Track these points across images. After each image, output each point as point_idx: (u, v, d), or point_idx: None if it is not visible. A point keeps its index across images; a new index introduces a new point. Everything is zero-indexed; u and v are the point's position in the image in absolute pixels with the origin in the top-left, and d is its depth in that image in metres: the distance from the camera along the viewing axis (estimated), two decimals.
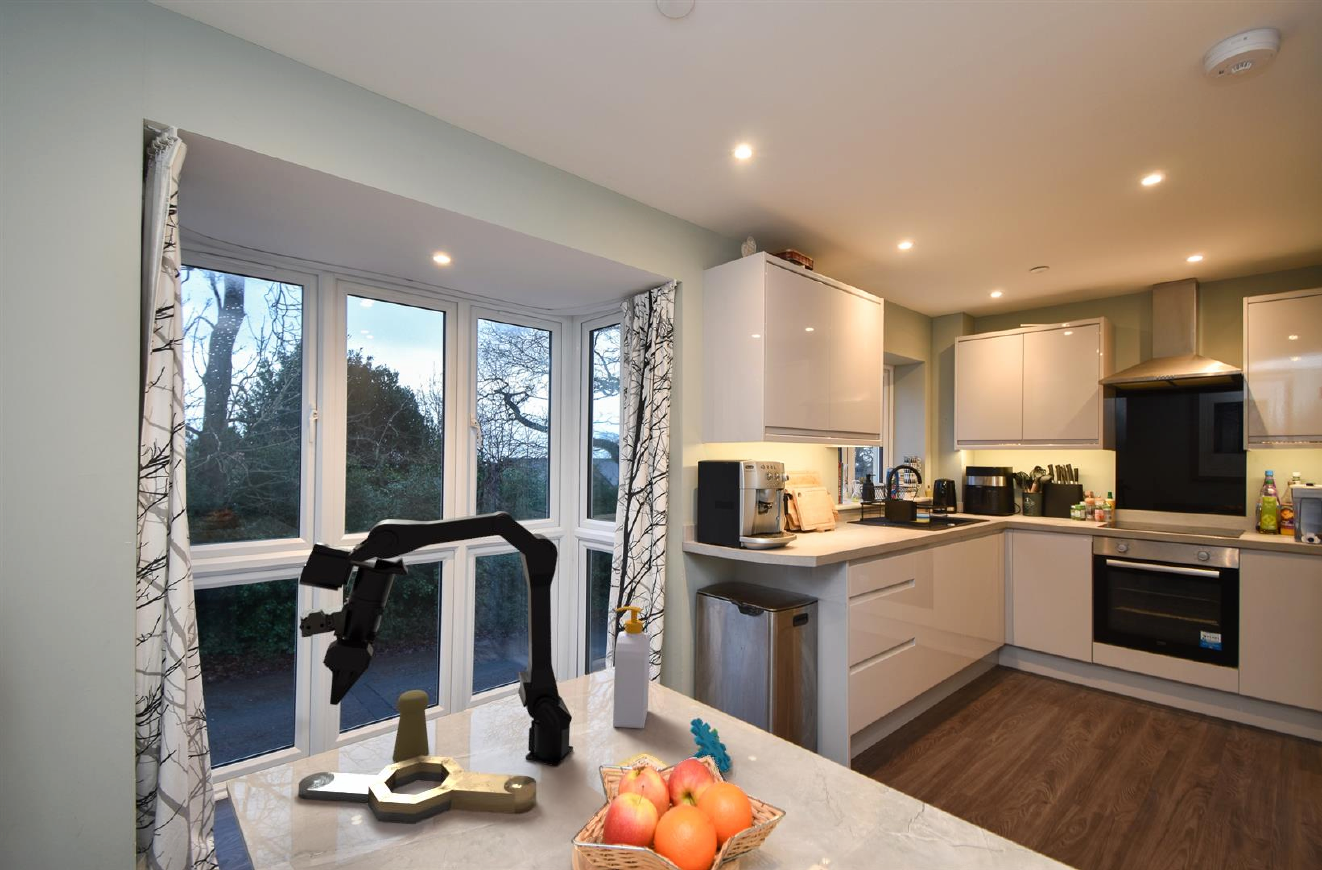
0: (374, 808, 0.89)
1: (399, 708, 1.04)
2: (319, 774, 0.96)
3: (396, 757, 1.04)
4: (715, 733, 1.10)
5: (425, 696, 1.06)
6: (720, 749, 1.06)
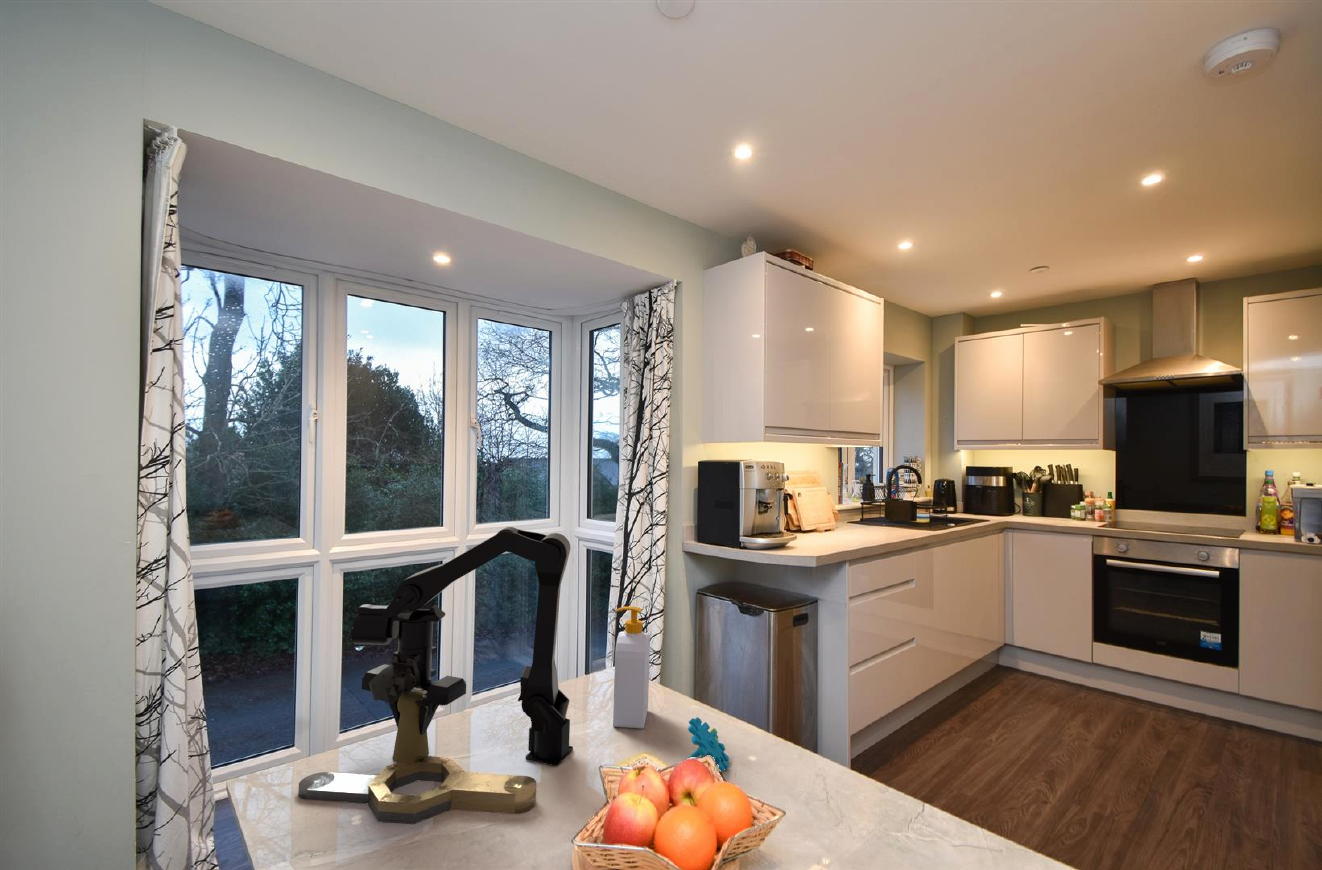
0: (374, 808, 0.89)
1: (399, 708, 1.04)
2: (319, 774, 0.96)
3: (396, 757, 1.04)
4: (714, 733, 1.10)
5: None
6: (718, 749, 1.06)
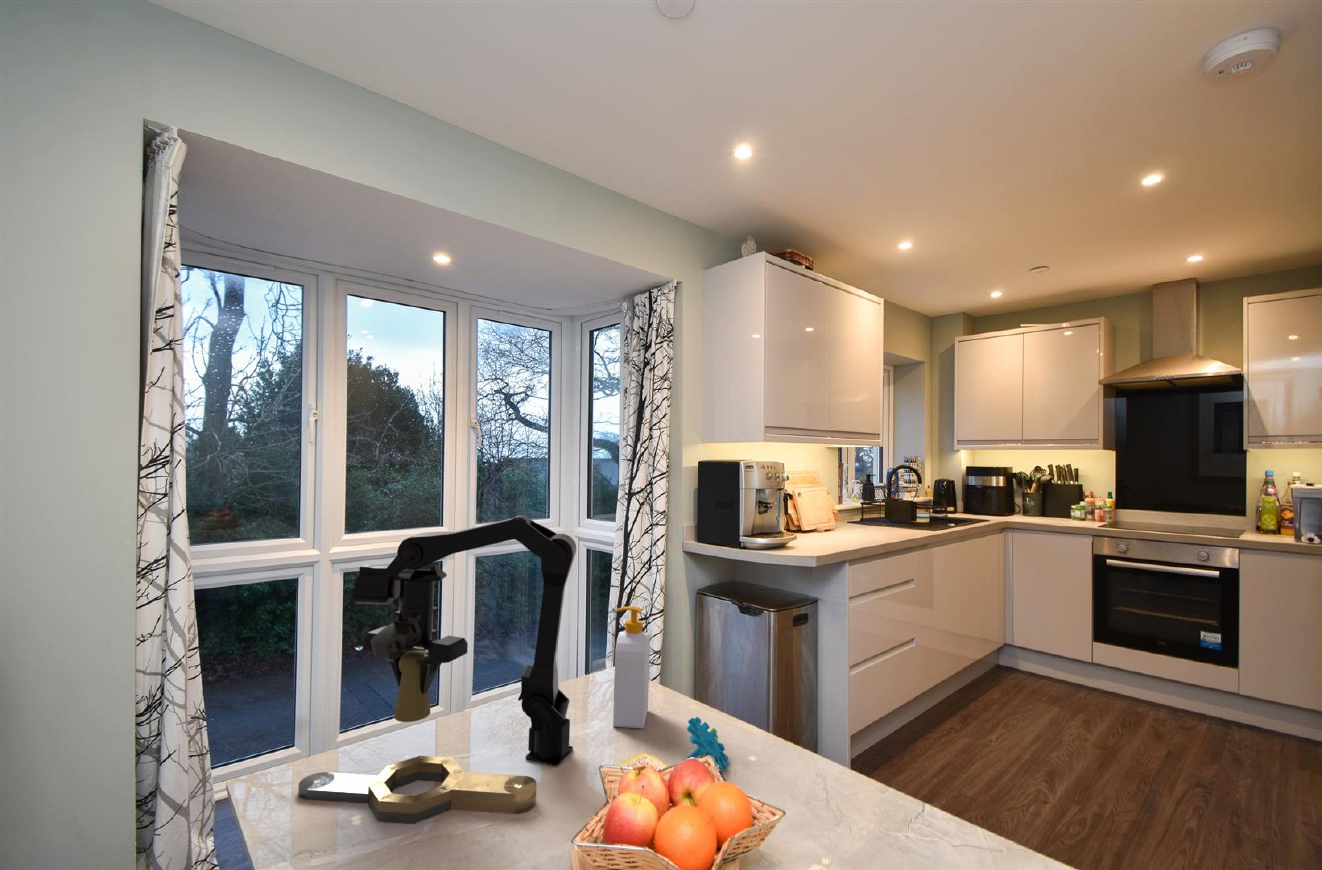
0: (374, 808, 0.89)
1: (400, 667, 1.04)
2: (319, 774, 0.96)
3: (398, 716, 1.04)
4: (714, 733, 1.10)
5: None
6: (717, 749, 1.06)
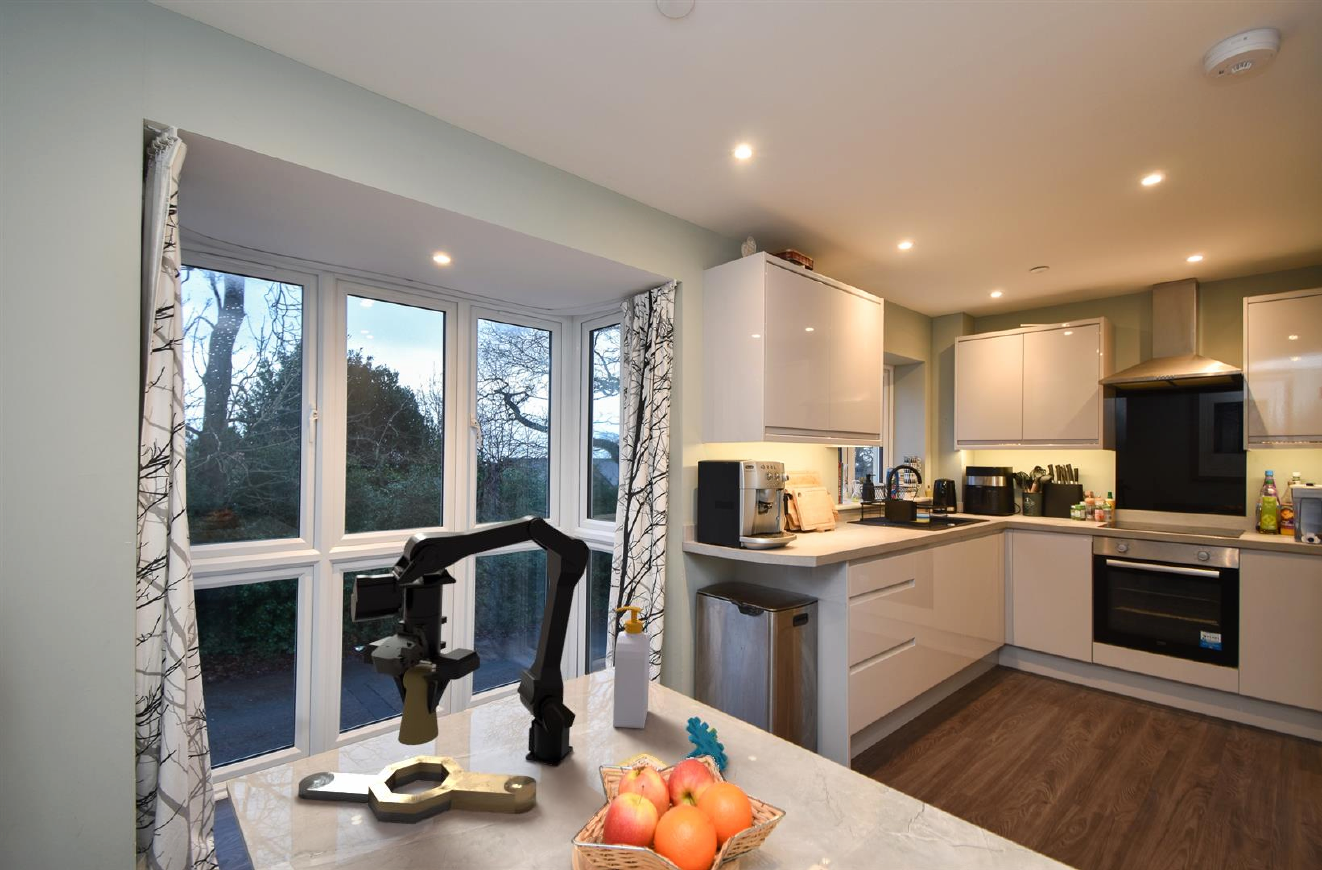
0: (374, 808, 0.89)
1: (405, 683, 0.93)
2: (319, 774, 0.96)
3: (402, 738, 0.92)
4: (713, 732, 1.10)
5: None
6: (716, 748, 1.06)
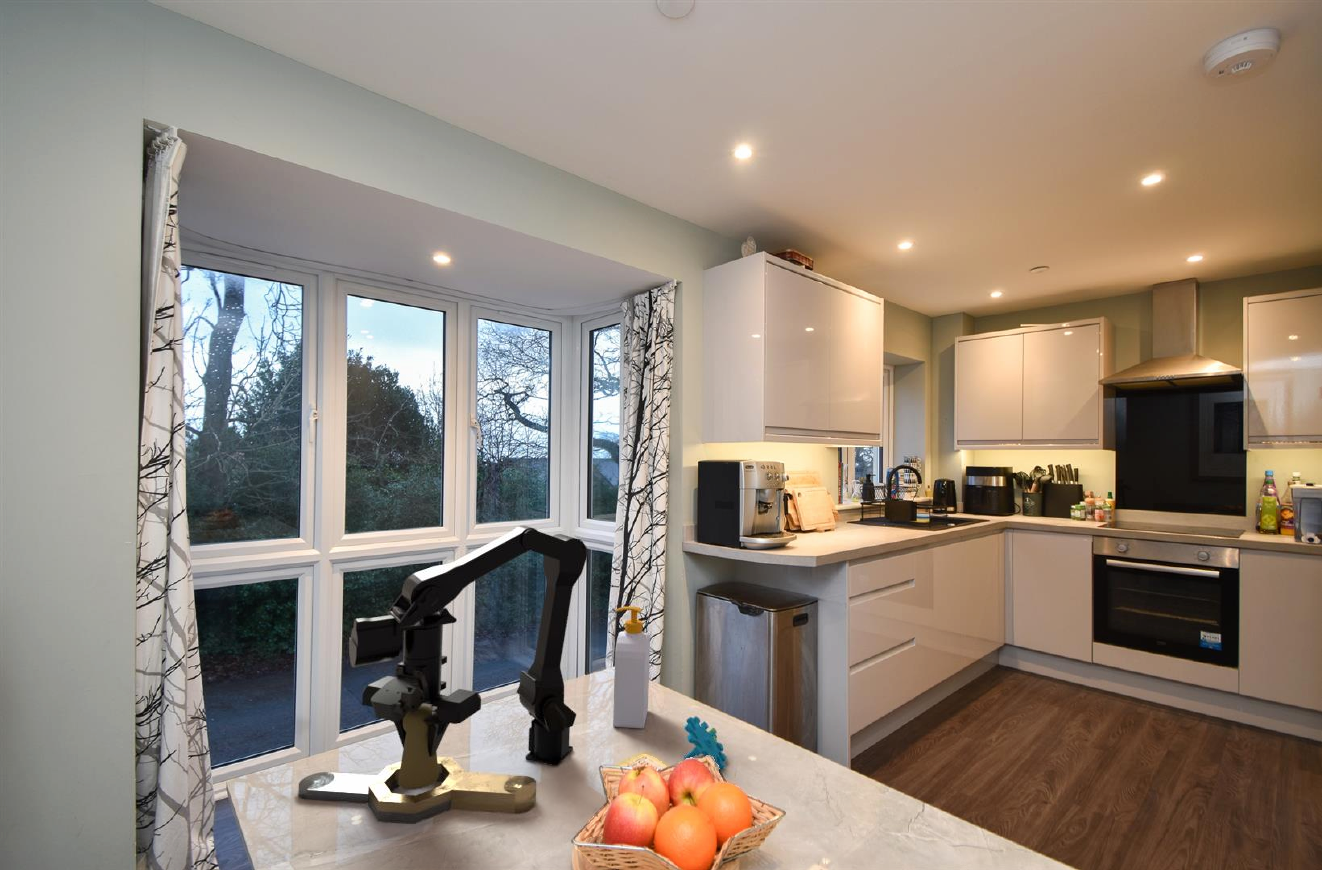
0: (374, 808, 0.89)
1: (405, 726, 0.92)
2: (319, 774, 0.96)
3: (402, 782, 0.91)
4: (713, 732, 1.10)
5: None
6: (715, 748, 1.06)
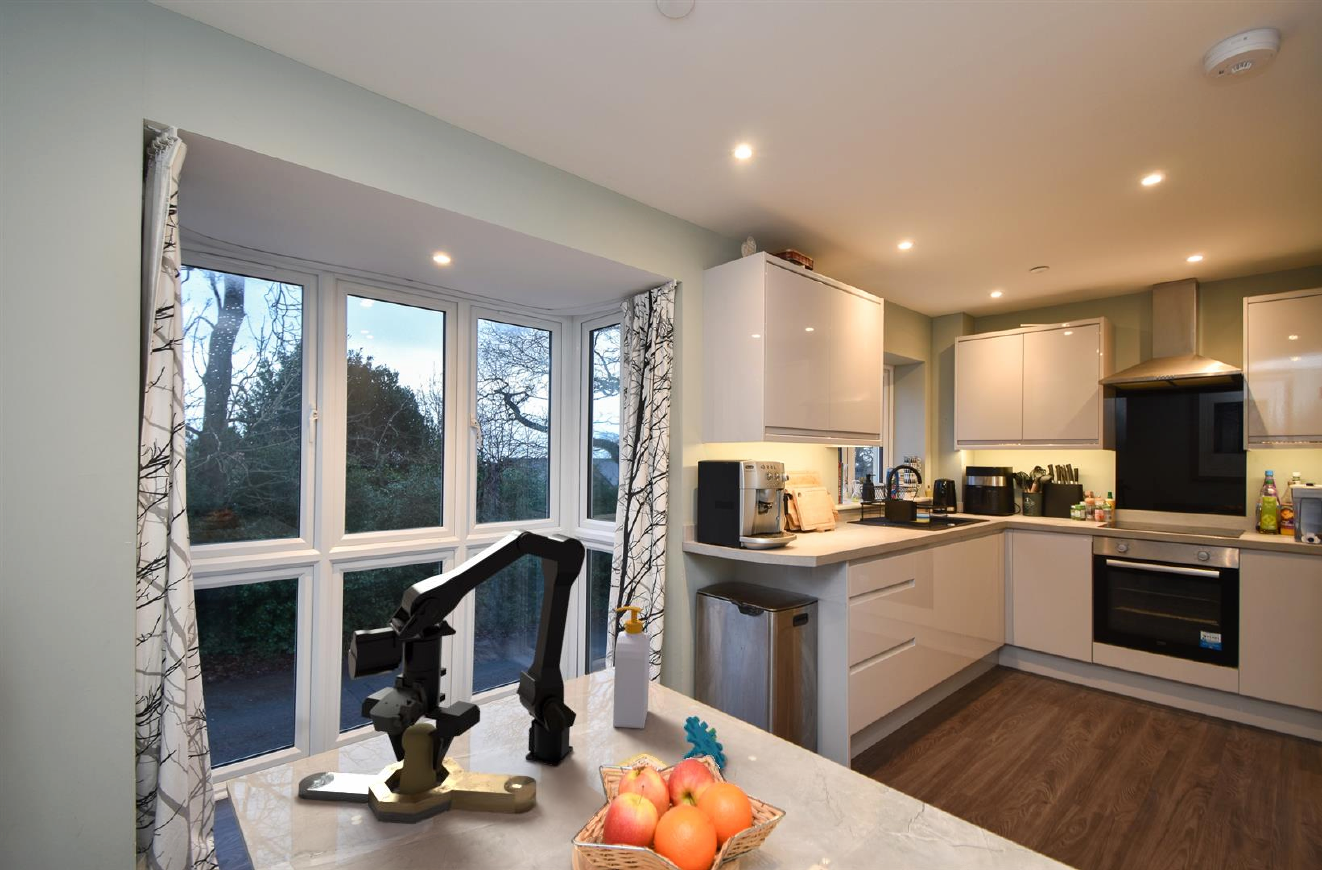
0: (374, 808, 0.89)
1: (404, 745, 0.91)
2: (319, 774, 0.96)
3: None
4: (713, 732, 1.10)
5: None
6: (715, 748, 1.06)
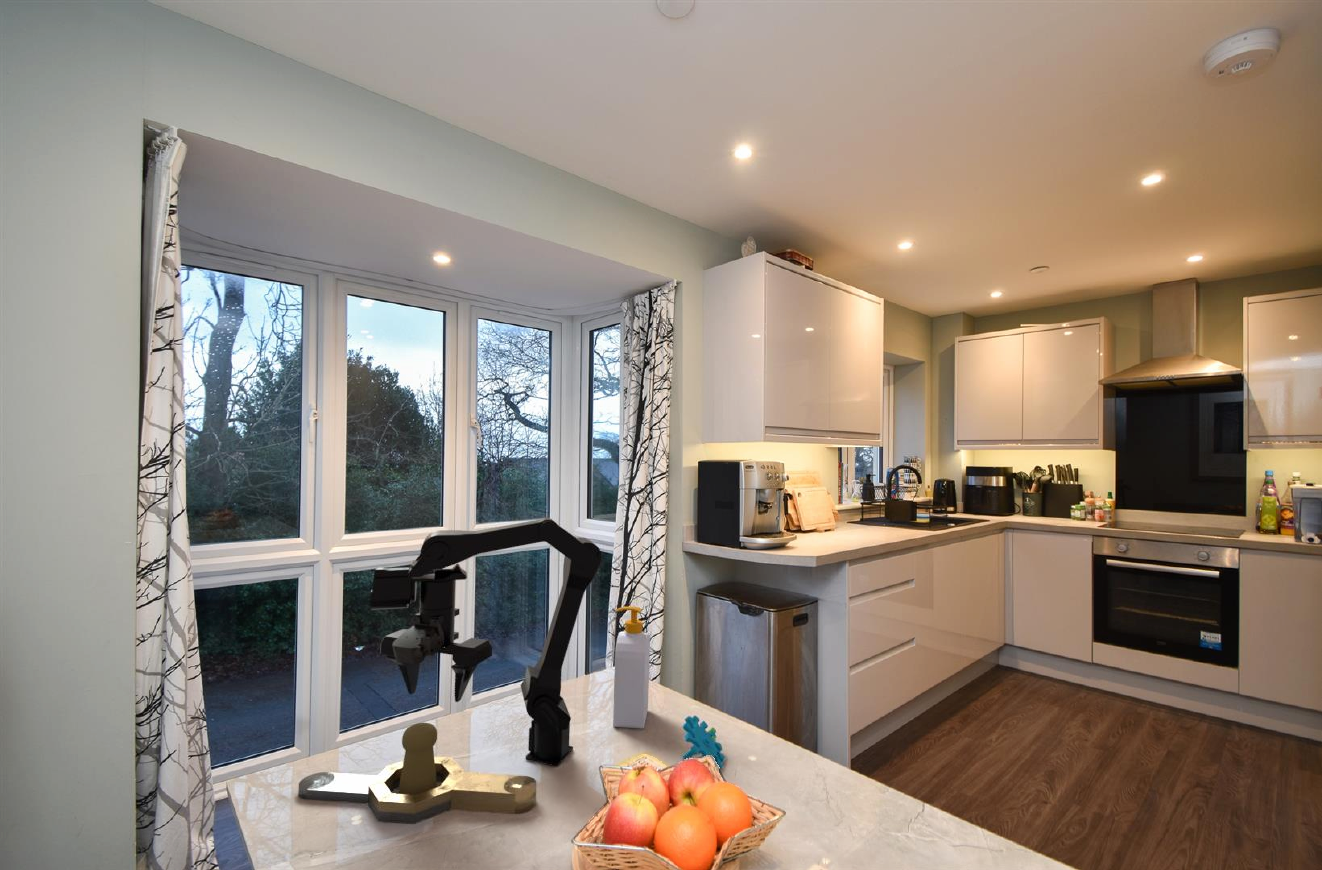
0: (374, 808, 0.89)
1: (404, 745, 0.92)
2: (319, 774, 0.96)
3: None
4: (712, 732, 1.10)
5: (433, 730, 0.94)
6: (714, 748, 1.06)
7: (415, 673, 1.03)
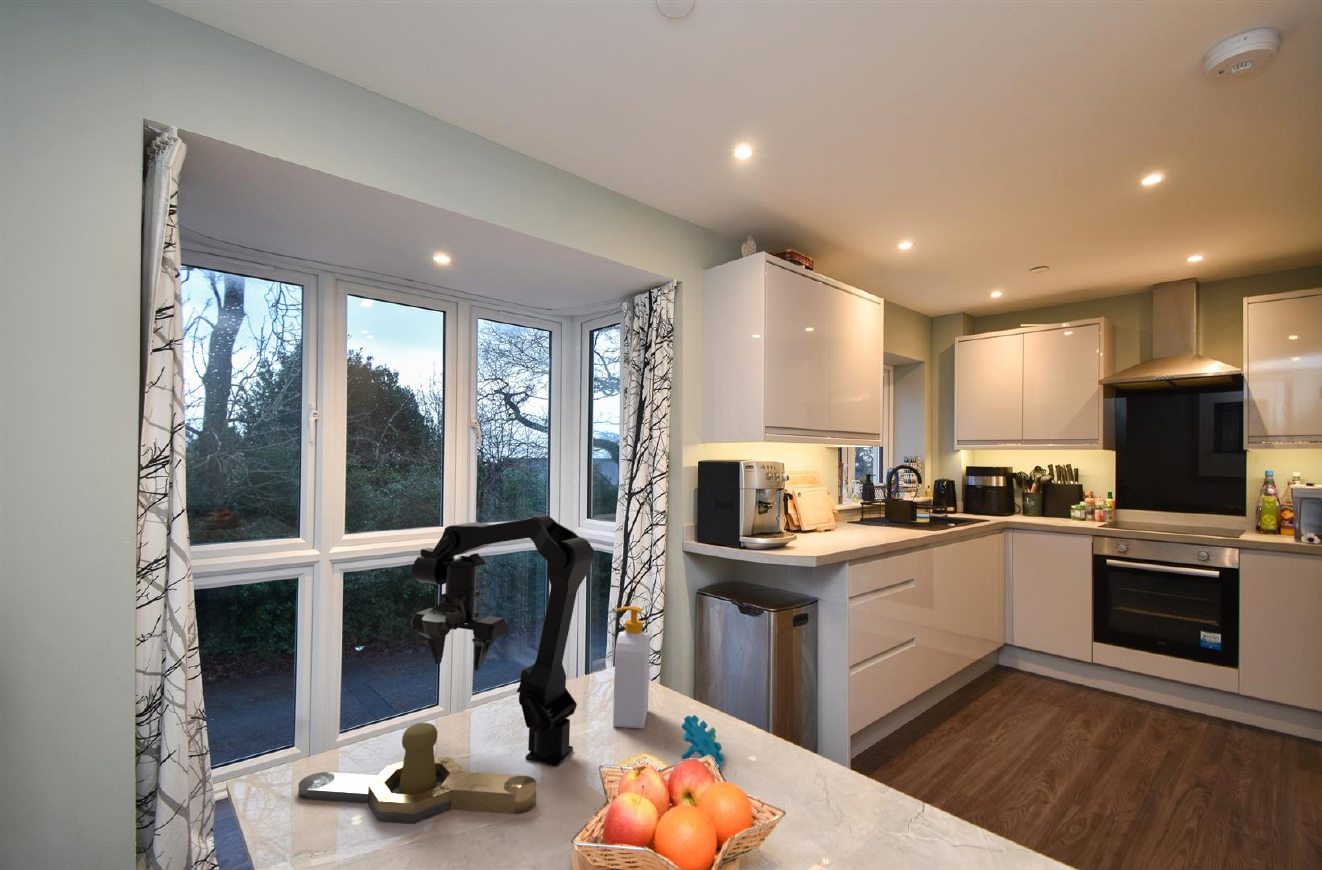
0: (374, 808, 0.89)
1: (404, 745, 0.92)
2: (319, 774, 0.96)
3: None
4: (712, 732, 1.10)
5: (433, 731, 0.94)
6: (713, 748, 1.06)
7: (441, 646, 1.19)
